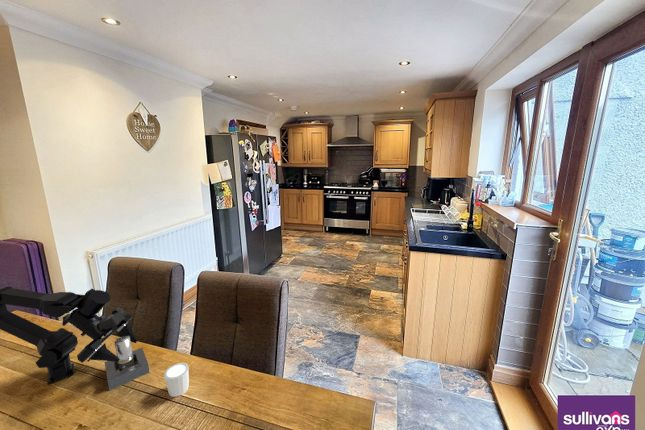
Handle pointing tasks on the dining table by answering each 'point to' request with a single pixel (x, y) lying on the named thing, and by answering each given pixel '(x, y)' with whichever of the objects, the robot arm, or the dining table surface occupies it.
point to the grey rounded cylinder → (124, 352)
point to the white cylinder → (177, 379)
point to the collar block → (126, 370)
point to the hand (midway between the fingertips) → (128, 350)
